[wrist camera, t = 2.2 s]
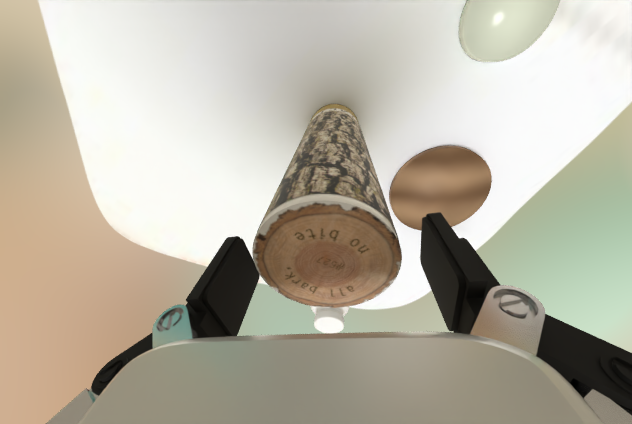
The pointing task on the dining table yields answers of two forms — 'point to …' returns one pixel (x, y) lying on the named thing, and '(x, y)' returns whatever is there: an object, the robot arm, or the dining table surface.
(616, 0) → the dining table surface
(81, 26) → the dining table surface
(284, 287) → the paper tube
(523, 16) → the sage dish
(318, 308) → the supplement bottle
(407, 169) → the holder base
